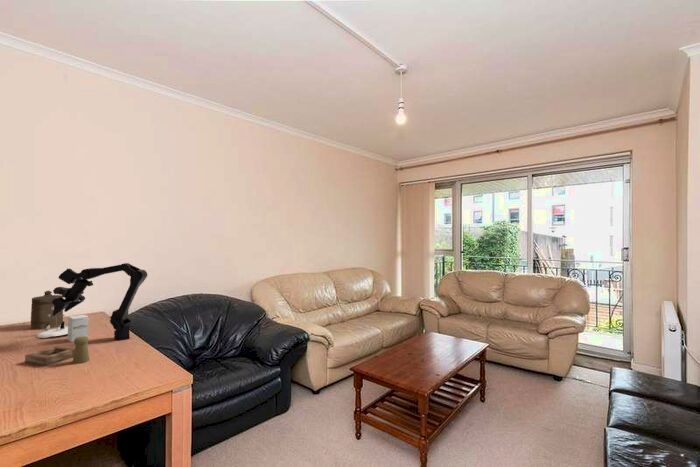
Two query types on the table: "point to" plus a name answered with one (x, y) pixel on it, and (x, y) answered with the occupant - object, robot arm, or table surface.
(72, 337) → the supplement box
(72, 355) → the walnut pocket block
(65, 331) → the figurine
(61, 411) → the table surface
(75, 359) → the olive mushroom shape
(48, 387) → the table surface
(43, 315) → the wooden container
